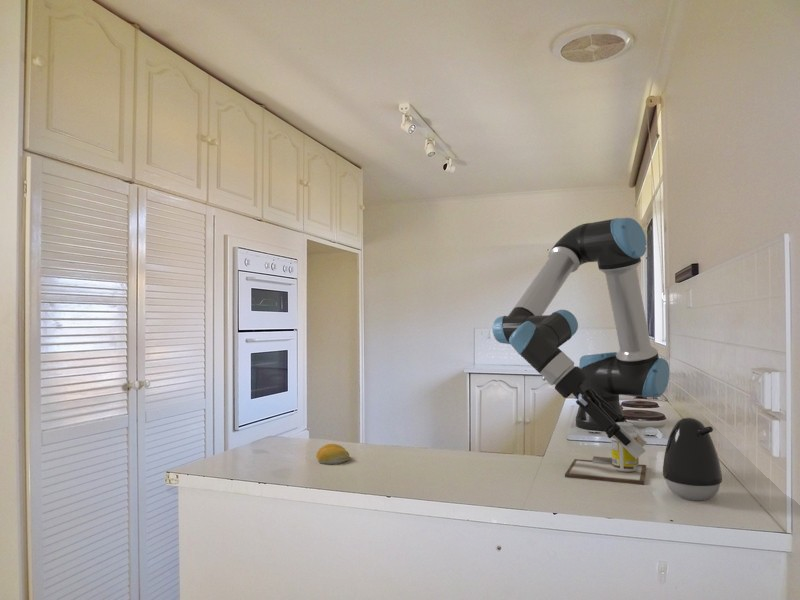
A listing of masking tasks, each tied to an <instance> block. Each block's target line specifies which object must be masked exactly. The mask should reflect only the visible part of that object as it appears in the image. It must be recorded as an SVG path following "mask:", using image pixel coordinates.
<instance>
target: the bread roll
mask: <svg viewBox="0 0 800 600" xmlns="http://www.w3.org/2000/svg"><path fill="white" fill-rule="evenodd" d="M315 456H316V457H315V458H316V459H317V461H318V463H319V464H321V463H323V464H322V465H339V464H342V462H343V463H346V462H348V461H349V459H350V453H349V451H347V449H346V448H344V447H343V446H342V445H340V444H336V443H328V444H327V443H326V444H325V445H323V446H321V448H319V449H318V450H317V452H316V454H315ZM345 461H346V462H345ZM338 463H339V464H338Z"/></svg>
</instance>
